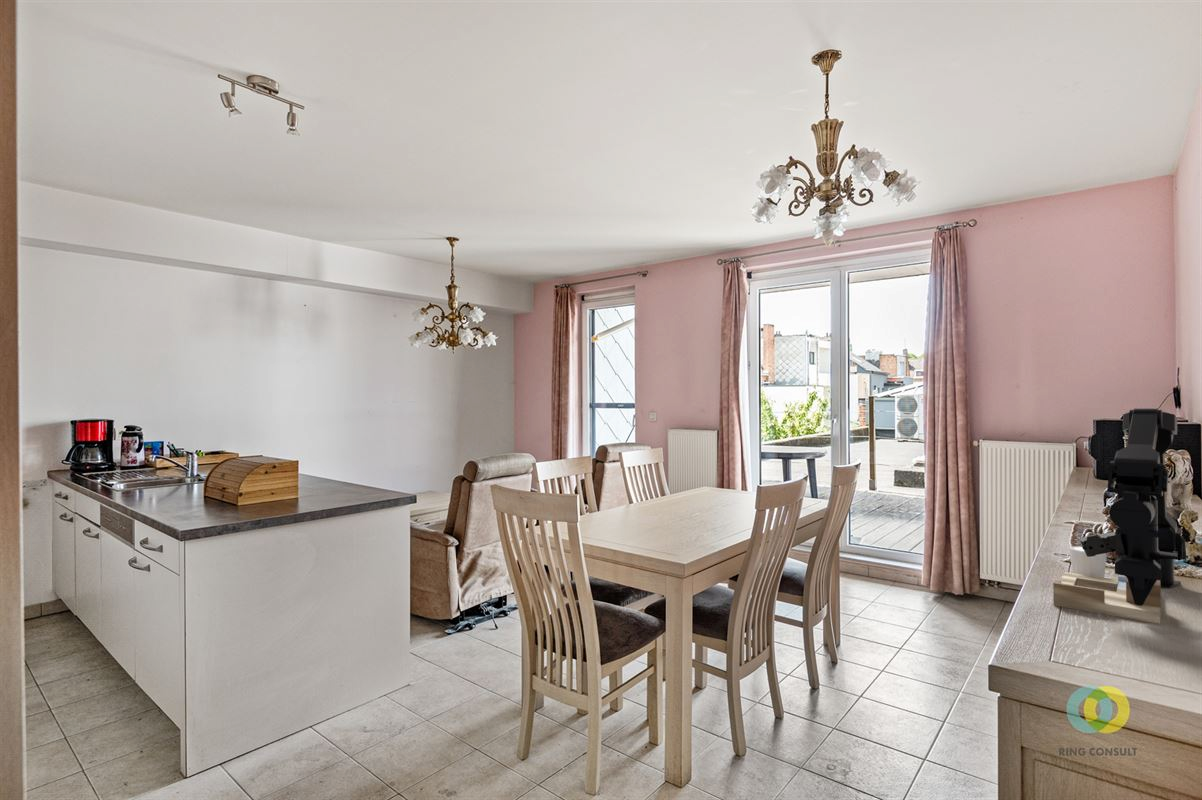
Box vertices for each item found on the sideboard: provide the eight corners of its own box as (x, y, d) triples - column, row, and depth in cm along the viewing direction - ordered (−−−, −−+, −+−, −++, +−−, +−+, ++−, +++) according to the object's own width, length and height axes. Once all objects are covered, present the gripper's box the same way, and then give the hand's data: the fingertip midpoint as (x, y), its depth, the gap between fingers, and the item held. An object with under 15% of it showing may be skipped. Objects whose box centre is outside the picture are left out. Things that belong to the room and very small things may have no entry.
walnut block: (1127, 595, 123) (1126, 575, 123) (1160, 600, 120) (1160, 580, 120) (1126, 601, 119) (1126, 581, 119) (1160, 607, 116) (1160, 586, 116)
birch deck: (1064, 580, 140) (1064, 561, 140) (1158, 594, 129) (1158, 573, 129) (1053, 605, 124) (1053, 583, 124) (1160, 623, 113) (1159, 599, 113)
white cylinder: (1114, 584, 137) (1114, 553, 137) (1079, 582, 138) (1079, 552, 138) (1096, 575, 144) (1095, 546, 144) (1063, 574, 145) (1063, 545, 145)
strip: (1118, 588, 134) (1118, 575, 134) (1158, 594, 130) (1158, 581, 130) (1117, 596, 128) (1117, 583, 129) (1159, 603, 124) (1158, 589, 124)
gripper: (1086, 510, 127) (1087, 585, 127) (1079, 525, 113) (1080, 608, 113) (1158, 516, 120) (1159, 596, 120) (1160, 533, 106) (1161, 622, 106)
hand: (1138, 604), depth 115 cm, fingers closed
